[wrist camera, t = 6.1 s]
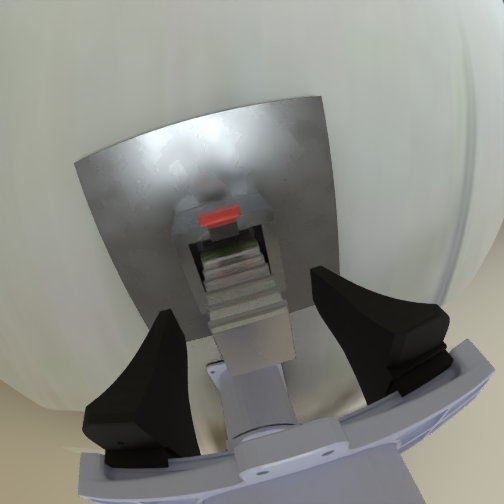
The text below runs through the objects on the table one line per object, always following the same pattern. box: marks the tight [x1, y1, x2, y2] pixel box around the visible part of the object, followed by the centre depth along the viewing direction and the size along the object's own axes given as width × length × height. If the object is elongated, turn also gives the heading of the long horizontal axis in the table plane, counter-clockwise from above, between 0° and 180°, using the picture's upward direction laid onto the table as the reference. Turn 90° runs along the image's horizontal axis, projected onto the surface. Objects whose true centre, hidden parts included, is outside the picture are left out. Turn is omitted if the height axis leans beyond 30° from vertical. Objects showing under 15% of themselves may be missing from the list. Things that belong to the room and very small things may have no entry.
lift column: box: [201, 229, 296, 377], centre depth 14 cm, size 3×3×8 cm
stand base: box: [74, 96, 340, 342], centre depth 19 cm, size 18×18×6 cm
